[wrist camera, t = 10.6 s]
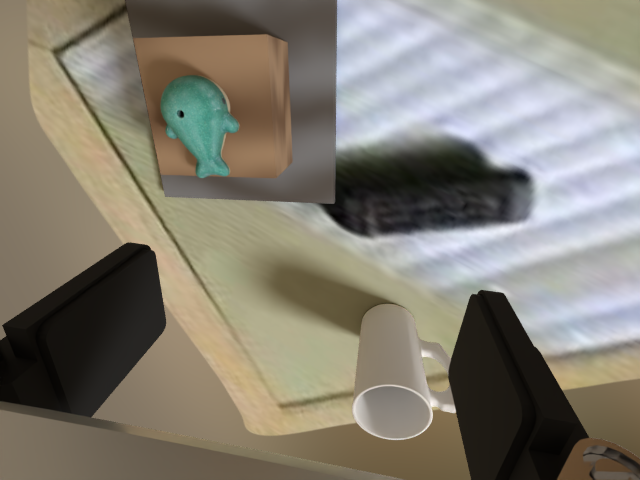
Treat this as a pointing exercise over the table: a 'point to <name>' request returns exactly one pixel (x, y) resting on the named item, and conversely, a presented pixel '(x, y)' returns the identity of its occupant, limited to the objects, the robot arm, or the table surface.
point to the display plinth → (304, 87)
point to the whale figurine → (199, 120)
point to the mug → (395, 376)
